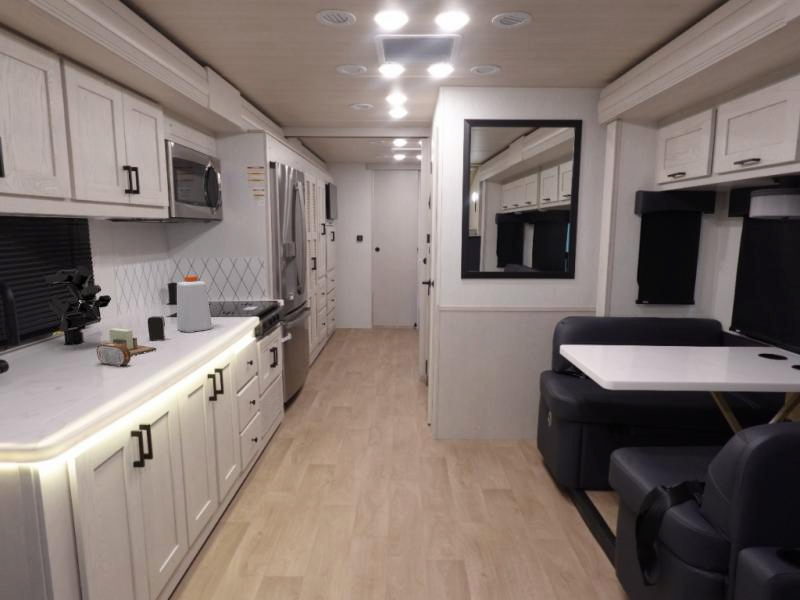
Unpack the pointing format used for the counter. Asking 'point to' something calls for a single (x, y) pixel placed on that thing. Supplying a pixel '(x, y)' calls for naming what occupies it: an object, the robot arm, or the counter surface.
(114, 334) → the bar
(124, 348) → the tin
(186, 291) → the plastic bottle
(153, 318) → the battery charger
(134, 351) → the wooden channel stand
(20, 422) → the counter surface
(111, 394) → the counter surface
